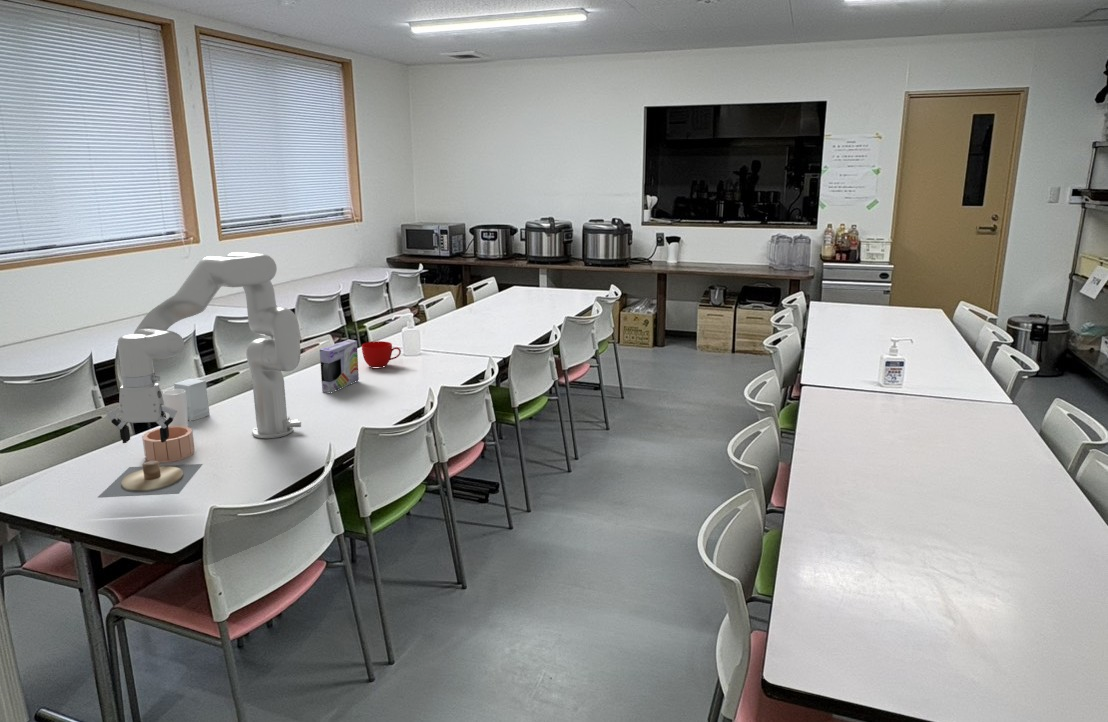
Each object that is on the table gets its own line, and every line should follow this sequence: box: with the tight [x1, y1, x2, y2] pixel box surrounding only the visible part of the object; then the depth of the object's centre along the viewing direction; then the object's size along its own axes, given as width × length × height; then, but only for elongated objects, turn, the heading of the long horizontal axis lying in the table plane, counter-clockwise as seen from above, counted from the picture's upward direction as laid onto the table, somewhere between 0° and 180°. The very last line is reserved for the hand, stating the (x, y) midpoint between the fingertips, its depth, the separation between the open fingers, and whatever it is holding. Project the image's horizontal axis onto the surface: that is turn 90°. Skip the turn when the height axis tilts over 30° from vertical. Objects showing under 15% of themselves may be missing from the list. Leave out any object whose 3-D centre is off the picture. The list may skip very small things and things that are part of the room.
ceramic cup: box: [361, 340, 402, 368], centre depth 317 cm, size 13×17×10 cm
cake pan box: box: [319, 338, 360, 394], centre depth 285 cm, size 19×5×18 cm, turn 158°
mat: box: [97, 463, 203, 498], centre depth 199 cm, size 20×20×1 cm
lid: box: [121, 461, 183, 491], centre depth 199 cm, size 15×15×5 cm
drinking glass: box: [162, 388, 189, 427], centre depth 231 cm, size 7×7×15 cm
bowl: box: [141, 426, 196, 464], centre depth 216 cm, size 13×13×7 cm
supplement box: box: [173, 377, 210, 421], centre depth 250 cm, size 7×7×13 cm
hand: (145, 441), depth 196 cm, fingers open, 9 cm apart
